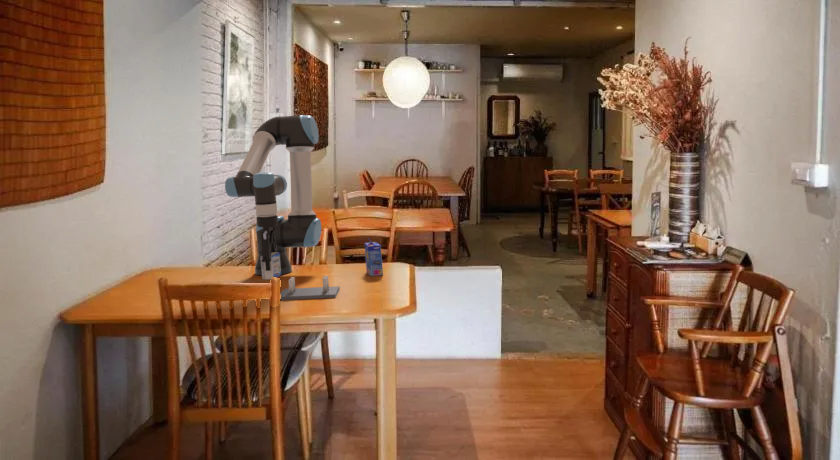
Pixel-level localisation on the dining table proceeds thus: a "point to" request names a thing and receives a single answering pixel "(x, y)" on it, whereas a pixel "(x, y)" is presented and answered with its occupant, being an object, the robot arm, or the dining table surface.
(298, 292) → the cradle
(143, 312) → the dining table surface
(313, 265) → the dining table surface
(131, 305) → the dining table surface
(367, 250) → the ink cartridge box
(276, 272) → the medicine box
